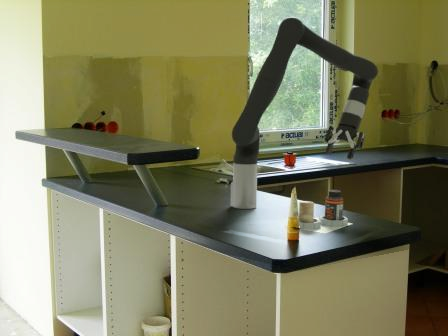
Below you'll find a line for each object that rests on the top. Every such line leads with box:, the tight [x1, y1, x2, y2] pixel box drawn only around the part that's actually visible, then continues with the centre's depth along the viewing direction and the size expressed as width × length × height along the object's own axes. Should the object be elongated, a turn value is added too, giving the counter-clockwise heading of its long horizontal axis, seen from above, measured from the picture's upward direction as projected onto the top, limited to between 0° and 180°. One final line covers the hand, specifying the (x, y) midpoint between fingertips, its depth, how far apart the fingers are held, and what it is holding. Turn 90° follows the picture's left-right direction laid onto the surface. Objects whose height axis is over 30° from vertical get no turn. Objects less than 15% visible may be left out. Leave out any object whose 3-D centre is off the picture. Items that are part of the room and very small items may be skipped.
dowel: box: [298, 200, 315, 223], centre depth 218 cm, size 5×5×8 cm
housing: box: [285, 214, 354, 234], centre depth 221 cm, size 15×19×3 cm
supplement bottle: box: [324, 189, 344, 220], centre depth 223 cm, size 6×6×11 cm
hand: (338, 156), depth 237 cm, fingers open, 8 cm apart
